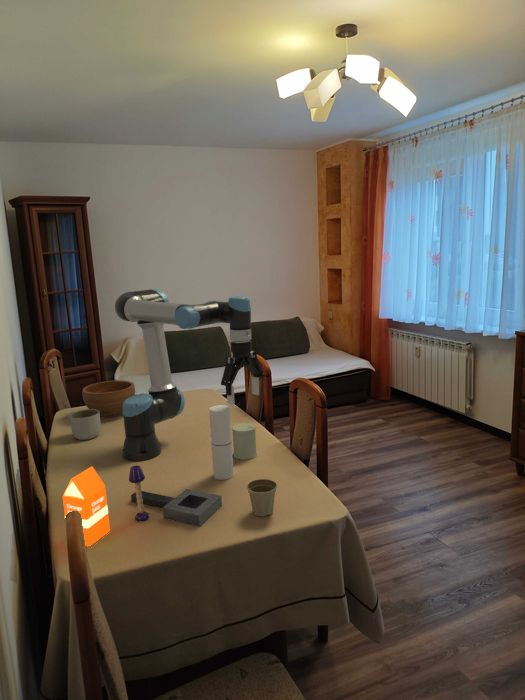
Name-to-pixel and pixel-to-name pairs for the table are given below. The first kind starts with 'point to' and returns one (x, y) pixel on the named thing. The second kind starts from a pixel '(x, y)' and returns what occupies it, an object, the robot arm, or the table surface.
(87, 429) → the planter
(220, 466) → the cylindrical container
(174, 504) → the block
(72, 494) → the orange juice
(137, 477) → the toy lamp
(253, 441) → the can
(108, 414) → the bowl
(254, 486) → the flower pot
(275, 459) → the table surface
